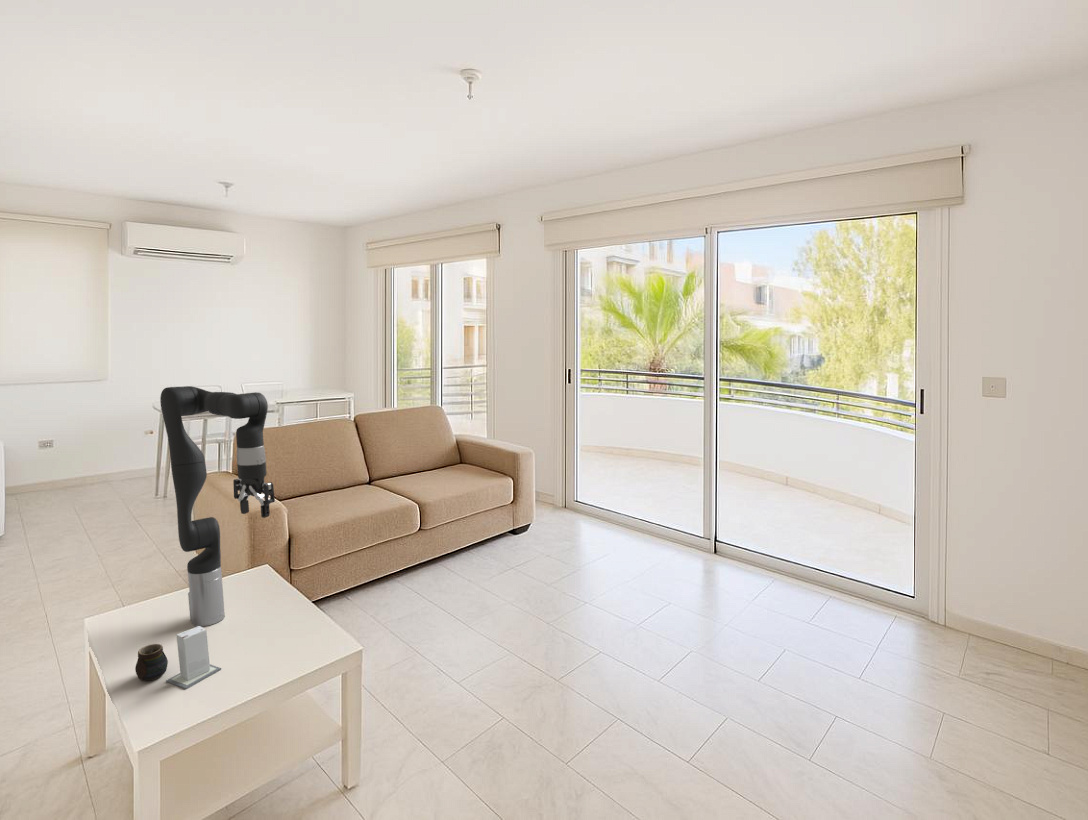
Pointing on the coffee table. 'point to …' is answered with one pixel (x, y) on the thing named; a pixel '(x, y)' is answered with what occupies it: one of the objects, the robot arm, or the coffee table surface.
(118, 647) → the coffee table surface
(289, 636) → the coffee table surface
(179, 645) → the skincare box
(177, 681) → the slate gray picture frame
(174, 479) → the robot arm
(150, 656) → the mate gourd
